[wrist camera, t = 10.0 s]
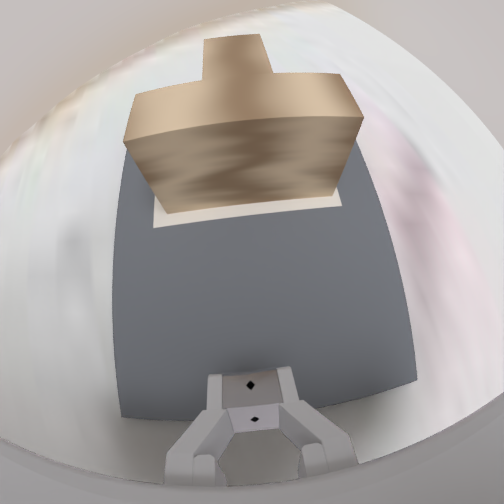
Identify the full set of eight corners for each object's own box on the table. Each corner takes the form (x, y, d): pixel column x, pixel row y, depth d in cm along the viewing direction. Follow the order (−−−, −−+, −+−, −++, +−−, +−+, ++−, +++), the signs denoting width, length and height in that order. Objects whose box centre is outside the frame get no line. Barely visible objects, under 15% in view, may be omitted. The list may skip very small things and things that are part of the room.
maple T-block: (167, 214, 19) (122, 141, 12) (173, 120, 23) (150, 50, 15) (332, 196, 19) (363, 117, 12) (303, 106, 23) (313, 34, 15)
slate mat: (125, 415, 15) (121, 417, 14) (135, 121, 24) (133, 117, 23) (413, 379, 15) (417, 379, 15) (333, 99, 24) (334, 94, 23)
